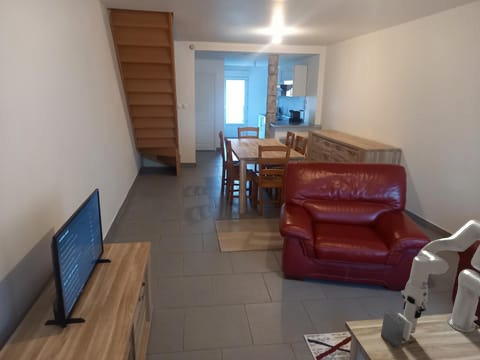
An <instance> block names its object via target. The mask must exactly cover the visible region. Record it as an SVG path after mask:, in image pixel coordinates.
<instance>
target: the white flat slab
mask: <svg viewBox="0 0 480 360" xmlns="http://www.w3.org/2000/svg"><path fill="white" fill-rule="evenodd" d="M396 315H397V316H399V317H400V318H401V319H402V320H403V321H405V326H404V331H403V336H402V337H403V338H404V339H405V340H406V341H408V342H410V341H409V337H410V334H411V333H410V332H411V328H412V323H411V322H410V321H409V320H408V319H406V318H405V317H404V314H401V312H398V313H397V314H396Z"/></svg>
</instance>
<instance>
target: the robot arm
mask: <svg viewBox="0 0 480 360" xmlns="http://www.w3.org/2000/svg"><path fill="white" fill-rule="evenodd" d="M477 241H480V219H470V220H468V221H467V222H465V223H464V224H463V225H462V226H461V227H460V228H459V229H457V230H456V231H455V232H453V234H451V236H449V237H445V238H440V239H435V240H433V241H431V242H429V243H427V244H426V245H425V246H424V247H423V248H421V249H420V251H419V252H418V253H417V255H415V257H414V258H413V261H412V263H411V264H412V266H411V269H410V275H409V279H408V281H407V282H406V285H405V288H404V289H403V290H402V289H401V290H400V294H401V295H402V298H403V307H402V309H403V310H404V311H405V306H406V301H407V296H409V297H411V298H413V299H415V305H416V308H417V311H416V312H415V319H416V318H418V319H419V318H421V317H422V313H423V312H425V311H426V312H427V311H429V306H428V305H427V303H428V297H429V288H428V287H429V285H428V280H429V275H430V274H433V275H443V274H445V273H446V272H448V270H449V264H448V262H447V261H446V260H445V259H444V258H442V257H440V256H438V255H437V254H436V253H438V252H441V251H454V252H465V251H466V250H467V249H468V248H470V247H471V246H472V245H473V244H475V243H476V242H477ZM470 264H471V266H472V267H473V268H474V269H475V270H477V271H478V272H477V271H475V270H473V269H469V268H464V269H463V270H461V271H460V273H459V275H458V279H457V280H458V282H457V283H458V286H457V291H456V292H457V293H456V296H455V300H454V303H453V304H454V305H453V308H452V313H451V315H449V316H447V319H446V322H447V324H448V325H449V326H450V327H452V328H453V329H454V330H457V331H459V332H463V333H473V332H474V331H475V329H476V325H474V323H473V322H474V321H477V320H479V318H478V316H477V315H476V312H477V307H478V303H479V300H480V299H479V298H480V273H479V272H480V244H479V245H478V247H477V248H476V251H475V253H474V254H473V257H472V258H471V260H470ZM419 307H420V309H419Z"/></svg>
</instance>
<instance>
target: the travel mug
mask: <svg viewBox="0 0 480 360" xmlns="http://www.w3.org/2000/svg"><path fill="white" fill-rule="evenodd" d="M419 309H420V307H419ZM416 311H417V308H416V305H415V299H413V298H411V297H409V296H407V301H406V306H405V310H404V312H403V316H404V317H405V318H406V319H408V320H409V321H410V322H411V323H412V328H411V332H410V334H414V333H415V332H416V328H417V324H418V319H419V318H416V319H415V312H416Z"/></svg>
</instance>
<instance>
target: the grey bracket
mask: <svg viewBox="0 0 480 360" xmlns="http://www.w3.org/2000/svg"><path fill="white" fill-rule="evenodd" d="M397 315H398V314H397V313H395V312H394V311H392V310H388V311H387V310H386V311H384V315H383V320H382V324H381V325H382V327H381V332H380V337H381V338H382V339H383V340H385V341H386V342H387V344H389V346H391V347H392V348H393V349H396V348H400V347H403V346H406V345H410V344H412V343H416V342H417V338H416V337H414V336H413V335H412V333H410V337H409V341H410V342H408V341H406V340H405V339H404V338H403V337H402V336H403V331H404V326H405V321H403V320H402V319H401V318H400V317H399V316H397Z"/></svg>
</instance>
